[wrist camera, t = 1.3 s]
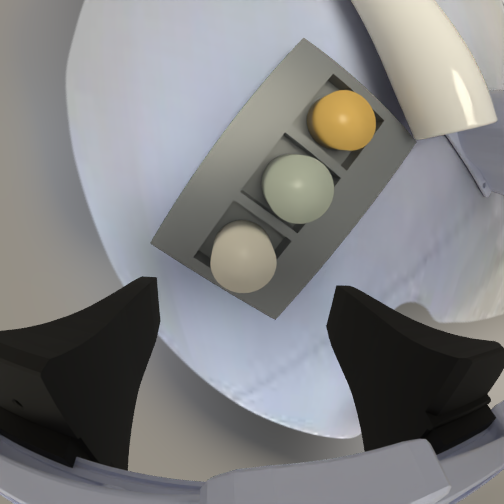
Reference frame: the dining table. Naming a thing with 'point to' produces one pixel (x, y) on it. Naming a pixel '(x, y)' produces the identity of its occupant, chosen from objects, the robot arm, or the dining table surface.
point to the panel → (255, 162)
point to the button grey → (297, 188)
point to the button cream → (243, 257)
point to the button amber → (342, 121)
